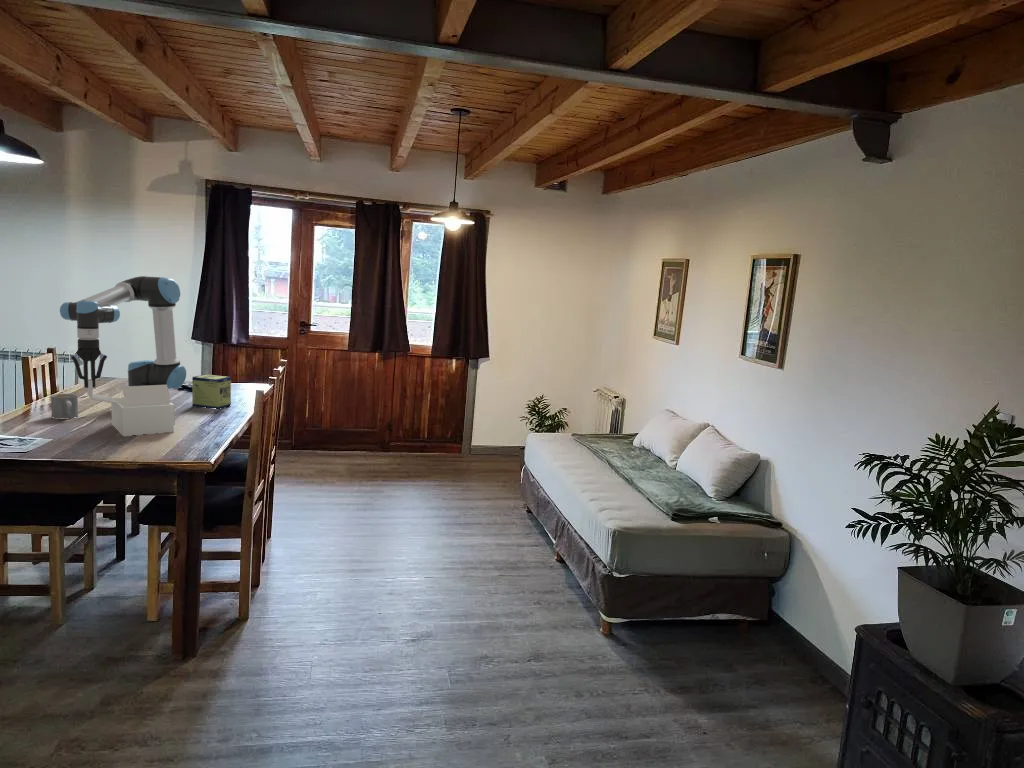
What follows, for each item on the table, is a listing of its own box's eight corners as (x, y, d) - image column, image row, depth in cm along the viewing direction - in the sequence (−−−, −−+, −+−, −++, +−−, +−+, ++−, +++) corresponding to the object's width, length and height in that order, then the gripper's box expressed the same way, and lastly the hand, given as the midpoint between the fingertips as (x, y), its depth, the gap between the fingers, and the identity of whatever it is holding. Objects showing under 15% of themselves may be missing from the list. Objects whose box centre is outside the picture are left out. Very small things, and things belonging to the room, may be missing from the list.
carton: (111, 424, 299) (111, 398, 297) (161, 421, 312) (160, 395, 310) (123, 436, 281) (122, 407, 279) (175, 432, 294) (175, 404, 292)
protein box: (219, 409, 343) (219, 379, 341) (191, 406, 346) (191, 376, 344) (231, 406, 354) (231, 376, 351) (204, 403, 357) (204, 374, 354)
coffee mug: (51, 415, 308) (50, 394, 307) (77, 414, 314) (76, 393, 313) (52, 421, 298) (51, 399, 296) (79, 420, 303) (78, 398, 302)
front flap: (125, 405, 280) (122, 387, 283) (170, 402, 291) (166, 385, 294) (125, 405, 279) (122, 386, 283) (170, 402, 290) (166, 384, 294)
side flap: (110, 398, 294) (87, 394, 288) (111, 397, 294) (87, 393, 288) (117, 403, 284) (92, 399, 278) (117, 402, 284) (93, 398, 278)
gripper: (71, 339, 272) (73, 397, 276) (108, 339, 281) (109, 395, 284) (68, 337, 278) (70, 394, 281) (104, 337, 286) (106, 392, 290)
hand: (90, 395), depth 283 cm, fingers closed
